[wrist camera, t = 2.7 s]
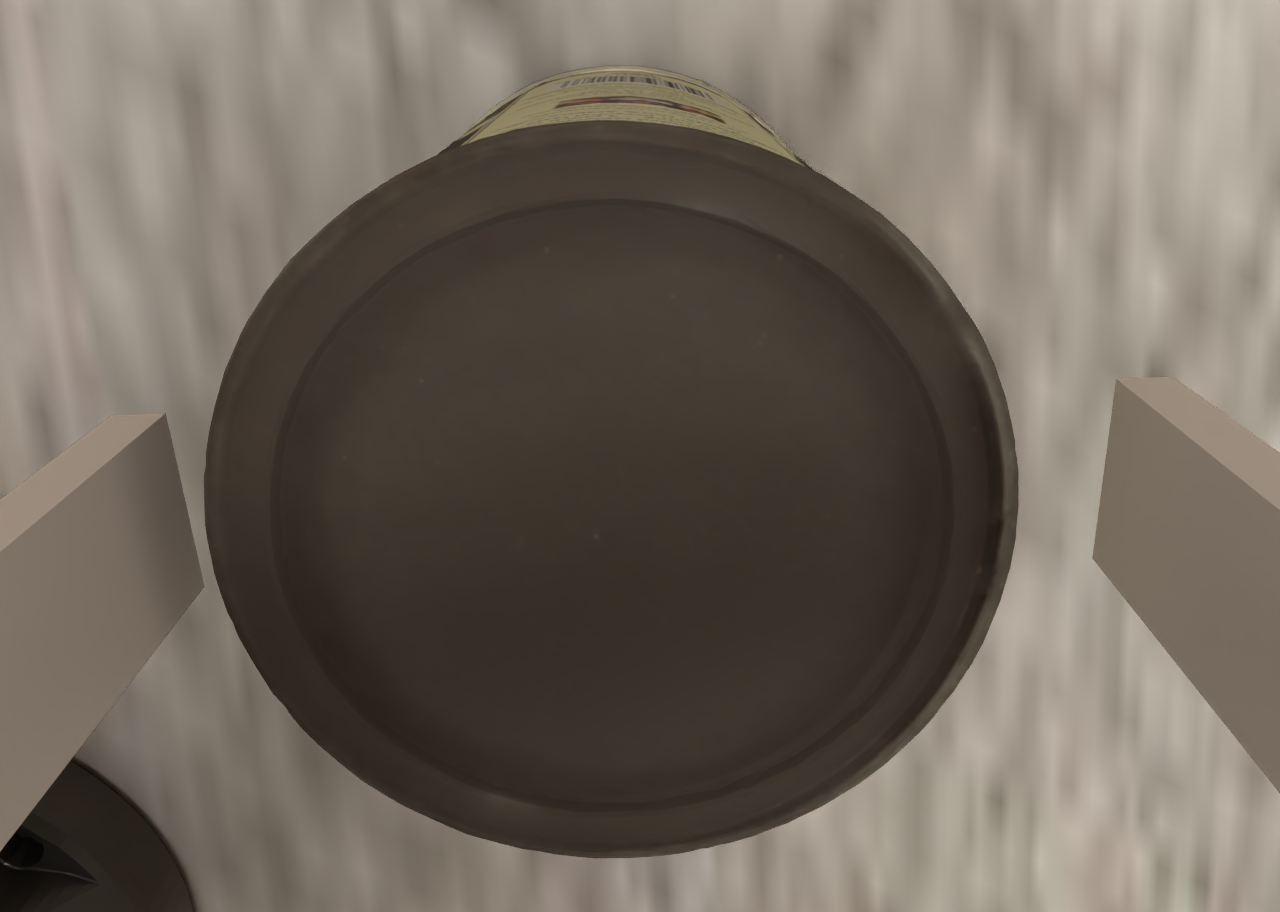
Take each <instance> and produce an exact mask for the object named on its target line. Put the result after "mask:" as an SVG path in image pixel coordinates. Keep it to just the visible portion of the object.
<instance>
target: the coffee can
mask: <svg viewBox="0 0 1280 912" xmlns="http://www.w3.org/2000/svg"><path fill="white" fill-rule="evenodd" d="M204 500H205V526H206V533H207V539H208V544H209V549H210V554H211V559H212V564H213V569H214V573H215V576H216V579H217V583H218V586H219V589H220V592H221V595H222V598H223V601H224V604H225V606H226V609H227V612H228V614H229V616H230V618H231V620H232V621H233V623H234V626H235V629H236V632H237V634H238V636H239V638H240V640H241V642H242V643H243V645H244V647H245V649H246V650H247V652H248V654H249V656H250V657H251V659H252V661H253V663H254V664H255V666H256V667H257V669H258V670H259V672H260V674H261V675H262V677H263V678H264V680H265V682H266V683H267V685H268V686H269V688H270V690H271V691H272V693H273V694H274V695H275V696H276V697H277V698H278V699H279V700H280V701H281V702H282V703H283V704H284V706H285V707H286V708H287V710H288V711H289V713H290V714H291V715H292V717H293V718H294V719H295V720H296V722H297V723H298V724H299V726H300V727H301V728H302V729H303V730H304V731H305V732H306V733H307V734H308V735H309V736H310V737H311V738H312V739H313V740H314V741H315V742H316V743H317V744H318V745H320V746H321V747H322V748H323V749H324V750H325V751H327V752H328V753H329V754H330V755H331V756H332V757H334V758H335V759H336V760H337V761H338V762H339V763H341V764H342V765H343V766H344V767H346V768H347V769H348V770H350V771H351V772H352V773H353V774H355V775H356V776H357V777H358V778H360V779H361V780H362V781H364V782H365V783H367V784H368V785H370V786H372V787H373V788H375V789H376V790H378V791H380V792H381V793H383V794H384V795H386V796H388V797H389V798H391V799H393V800H395V801H396V802H398V803H400V804H402V805H404V806H406V807H408V808H410V809H412V810H414V811H416V812H418V813H420V814H422V815H425V816H427V817H429V818H431V819H433V820H436V821H438V822H440V823H442V824H445V825H447V826H449V827H451V828H454V829H456V830H459V831H461V832H463V833H466V834H469V835H472V836H476V837H479V838H483V839H487V840H490V841H494V842H498V843H502V844H505V845H509V846H513V847H518V848H522V849H528V850H536V851H542V852H547V853H552V854H559V855H568V856H577V857H588V858H635V857H649V856H661V855H670V854H679V853H684V852H689V851H694V850H697V849H701V848H709V847H713V846H716V845H720V844H726V843H730V842H734V841H737V840H741V839H744V838H748V837H751V836H754V835H757V834H759V833H762V832H764V831H767V830H769V829H772V828H775V827H777V826H780V825H783V824H786V823H788V822H790V821H792V820H794V819H796V818H798V817H800V816H802V815H804V814H807V813H809V812H811V811H813V810H815V809H817V808H819V807H821V806H823V805H825V804H826V803H828V802H830V801H831V800H833V799H835V798H836V797H838V796H840V795H841V794H843V793H845V792H846V791H848V790H849V789H851V788H853V787H854V786H856V785H857V784H859V783H860V782H862V781H863V780H864V779H866V778H867V777H868V776H870V775H871V774H872V773H874V772H875V771H876V770H878V769H879V768H881V767H882V766H883V765H884V764H886V763H887V762H888V761H889V760H890V759H891V758H892V757H893V756H895V755H896V754H897V753H898V752H899V751H900V750H901V749H902V748H904V747H905V746H906V745H907V744H908V743H909V742H910V741H911V740H912V739H913V738H914V737H915V736H916V735H917V734H918V733H919V732H920V731H921V730H922V729H923V728H924V727H925V726H926V725H927V724H928V722H929V721H930V720H931V719H932V718H933V717H934V715H935V714H936V713H937V711H938V710H939V709H940V707H941V706H942V705H943V703H944V702H945V701H946V700H947V699H948V697H949V696H950V695H951V694H952V693H953V691H954V690H955V688H956V687H957V685H958V684H959V682H960V680H961V679H962V677H963V676H964V674H965V673H966V671H967V670H968V668H969V667H970V665H971V664H972V662H973V660H974V658H975V657H976V655H977V653H978V651H979V649H980V647H981V645H982V644H983V642H984V639H985V637H986V634H987V632H988V630H989V627H990V625H991V622H992V620H993V617H994V615H995V613H996V610H997V608H998V605H999V603H1000V600H1001V596H1002V593H1003V590H1004V586H1005V583H1006V580H1007V576H1008V573H1009V570H1010V565H1011V560H1012V555H1013V549H1014V544H1015V539H1016V525H1017V514H1018V464H1017V457H1016V452H1015V440H1014V434H1013V429H1012V424H1011V419H1010V415H1009V410H1008V406H1007V401H1006V397H1005V394H1004V391H1003V388H1002V386H1001V383H1000V380H999V377H998V374H997V371H996V368H995V365H994V363H993V360H992V358H991V356H990V354H989V351H988V349H987V347H986V345H985V342H984V340H983V338H982V336H981V334H980V332H979V331H978V329H977V327H976V325H975V324H974V322H973V321H972V319H971V318H970V316H969V315H968V313H967V312H966V310H965V309H964V307H963V306H962V304H961V303H960V302H959V300H958V299H957V297H956V296H955V294H954V293H953V291H952V289H951V288H950V286H949V285H948V284H947V283H946V281H945V280H944V279H943V277H942V276H941V275H940V274H939V272H938V271H937V270H936V269H935V267H934V266H933V265H932V263H931V262H930V261H929V260H928V259H927V258H926V257H925V256H924V255H923V254H922V253H921V252H920V250H919V249H918V248H917V247H916V246H915V245H914V244H913V243H912V242H911V241H910V240H909V239H908V238H907V237H906V236H905V235H904V234H903V233H902V232H901V231H900V230H899V229H897V228H896V227H895V226H894V225H893V224H892V223H891V222H890V221H888V220H887V219H886V218H885V217H884V216H883V215H882V214H880V213H879V212H877V211H876V210H874V209H873V208H872V207H870V206H869V205H867V204H866V203H865V202H863V201H862V200H860V199H859V198H857V197H856V196H854V195H853V194H851V193H850V192H848V191H847V190H845V189H844V188H842V187H841V186H839V185H838V184H836V183H835V182H833V181H831V180H830V179H828V178H827V177H825V176H823V175H821V174H819V173H817V172H815V171H814V170H813V169H812V168H810V167H809V166H808V165H807V164H806V163H805V162H804V161H802V160H801V159H800V158H798V157H797V156H796V155H795V154H794V153H793V152H792V151H791V150H790V149H789V148H787V147H786V146H785V145H784V143H783V142H782V141H781V139H780V138H779V137H778V136H777V135H776V134H775V133H774V132H773V131H772V129H771V128H770V127H768V126H767V125H766V124H765V123H764V122H763V121H762V120H761V119H760V118H759V117H758V116H757V115H756V114H755V113H753V112H752V111H750V110H749V109H748V108H746V107H745V106H744V105H742V104H741V103H740V102H738V101H737V100H735V99H734V98H732V97H731V96H729V95H728V94H726V93H724V92H723V91H721V90H719V89H717V88H714V87H712V86H710V85H709V84H707V83H705V82H704V81H701V80H697V79H693V78H690V77H687V76H684V75H682V74H678V73H674V72H670V71H665V70H661V69H654V68H648V67H641V66H601V67H592V68H586V69H580V70H574V71H569V72H565V73H562V74H558V75H555V76H552V77H549V78H547V79H545V80H542V81H538V82H534V83H532V84H530V85H528V86H527V87H525V88H523V89H521V90H519V91H518V92H516V93H514V94H513V95H511V96H510V97H508V98H506V99H505V100H503V101H502V102H500V103H499V104H497V105H496V106H495V107H493V108H492V109H491V110H489V111H488V112H487V113H486V114H484V115H483V116H482V117H481V118H480V119H479V120H478V121H477V122H476V123H475V124H474V125H473V126H472V127H471V128H470V129H469V130H468V131H467V132H466V133H465V134H464V135H463V136H462V137H461V138H459V139H458V140H457V141H455V142H453V143H452V144H451V145H450V146H449V147H447V148H446V149H444V150H443V151H441V152H440V153H439V154H438V155H436V156H434V157H432V158H430V159H428V160H426V161H424V162H422V163H420V164H418V165H416V166H414V167H412V168H410V169H408V170H406V171H404V172H403V173H401V174H399V175H397V176H395V177H394V178H392V179H390V180H389V181H387V182H385V183H384V184H382V185H381V186H379V187H378V188H376V189H374V190H373V191H371V192H370V193H368V194H367V195H365V196H364V197H362V198H361V199H359V200H358V201H356V202H355V203H353V204H352V205H351V206H349V207H348V208H347V209H346V210H344V211H343V212H342V213H341V214H340V215H338V216H337V217H336V218H335V219H334V220H332V221H331V222H330V223H329V224H327V225H326V226H325V227H324V228H323V229H322V230H321V231H320V232H319V233H318V234H317V235H316V236H314V237H313V238H312V239H311V240H310V241H309V242H308V243H307V244H306V245H305V246H304V247H303V248H302V249H301V250H300V251H299V252H298V253H297V254H296V255H295V256H294V257H293V258H292V259H291V260H290V261H289V262H288V264H287V265H286V266H285V268H284V269H283V270H282V272H281V273H280V274H279V276H278V277H277V278H276V280H275V281H274V282H273V284H272V285H271V286H270V287H269V289H268V290H267V291H266V293H265V295H264V296H263V298H262V299H261V301H260V303H259V304H258V306H257V308H256V309H255V311H254V312H253V314H252V315H251V317H250V318H249V319H248V321H247V323H246V325H245V327H244V329H243V331H242V333H241V335H240V337H239V340H238V342H237V344H236V347H235V349H234V351H233V353H232V356H231V358H230V360H229V362H228V365H227V367H226V369H225V372H224V376H223V379H222V383H221V386H220V390H219V393H218V397H217V400H216V404H215V408H214V412H213V417H212V421H211V426H210V432H209V437H208V444H207V451H206V468H205V474H204Z"/></svg>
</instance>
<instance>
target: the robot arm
mask: <svg viewBox="0 0 1280 912" xmlns="http://www.w3.org/2000/svg"><path fill="white" fill-rule="evenodd" d="M1093 559H1094V561H1095V562H1096V563H1097V564H1098V566H1099V567H1100V568H1101V569H1102V571H1103V572H1104V573H1105V574H1106V576H1107V577H1108V578H1109V579H1110V581H1111V582H1112V583H1113V584H1114V586H1115V587H1116V588H1117V590H1118V591H1119V592H1120V593H1121V595H1122V596H1123V597H1124V598H1125V600H1126V601H1127V602H1128V603H1129V605H1130V606H1131V607H1132V608H1133V610H1134V611H1135V612H1136V613H1137V615H1138V616H1139V617H1140V618H1141V620H1142V621H1143V622H1144V623H1145V625H1146V626H1147V627H1148V628H1149V630H1150V631H1151V632H1152V633H1153V635H1154V636H1155V637H1156V638H1157V640H1158V641H1159V642H1160V643H1161V645H1162V646H1163V647H1164V648H1165V650H1166V651H1167V652H1168V653H1169V655H1170V656H1171V657H1172V658H1173V660H1174V661H1175V662H1176V664H1177V665H1178V666H1179V667H1180V669H1181V670H1182V671H1183V672H1184V674H1185V675H1186V676H1187V677H1188V679H1189V680H1190V681H1191V682H1192V684H1193V685H1194V686H1195V687H1196V689H1197V690H1198V691H1199V692H1200V694H1201V695H1202V696H1203V697H1204V699H1205V700H1206V701H1207V702H1208V704H1209V705H1210V706H1211V707H1212V709H1213V710H1214V711H1215V712H1216V714H1217V715H1218V716H1219V717H1220V719H1221V720H1222V721H1223V722H1224V724H1225V725H1226V726H1227V727H1228V729H1229V730H1230V731H1231V732H1232V734H1233V735H1234V736H1235V738H1236V739H1237V740H1238V741H1239V743H1240V744H1241V745H1242V746H1243V748H1244V749H1245V750H1246V751H1247V753H1248V754H1249V755H1250V756H1251V758H1252V759H1253V760H1254V761H1255V763H1256V764H1257V765H1258V766H1259V768H1260V769H1261V770H1262V771H1263V773H1264V774H1265V775H1266V776H1267V778H1268V779H1269V780H1270V781H1271V783H1272V784H1273V785H1274V786H1275V788H1276V789H1277V790H1278V791H1279V793H1280V453H1279V452H1278V451H1277V450H1275V449H1274V448H1272V447H1271V446H1270V445H1268V444H1267V443H1265V442H1264V441H1263V440H1261V439H1260V438H1258V437H1257V436H1256V435H1254V434H1253V433H1251V432H1250V431H1249V430H1247V429H1246V428H1244V427H1243V426H1242V425H1240V424H1239V423H1237V422H1236V421H1235V420H1233V419H1232V418H1230V417H1229V416H1228V415H1226V414H1225V413H1223V412H1222V411H1220V410H1219V409H1218V408H1216V407H1215V406H1213V405H1212V404H1211V403H1209V402H1208V401H1206V400H1205V399H1204V398H1202V397H1201V396H1199V395H1198V394H1197V393H1195V392H1194V391H1192V390H1191V389H1190V388H1188V387H1187V386H1185V385H1184V384H1183V383H1181V382H1180V381H1178V380H1177V379H1176V378H1174V377H1157V378H1129V379H1116V386H1115V394H1114V401H1113V409H1112V416H1111V424H1110V431H1109V439H1108V446H1107V454H1106V461H1105V469H1104V476H1103V484H1102V491H1101V498H1100V506H1099V513H1098V521H1097V528H1096V536H1095V543H1094V551H1093ZM203 588H204V583H203V578H202V574H201V569H200V565H199V561H198V556H197V552H196V547H195V543H194V538H193V534H192V529H191V525H190V520H189V516H188V511H187V507H186V502H185V498H184V494H183V489H182V485H181V480H180V476H179V471H178V467H177V462H176V458H175V453H174V449H173V444H172V440H171V436H170V431H169V427H168V422H167V418H166V413H159V414H132V415H111V416H110V417H108V418H107V419H106V420H104V421H103V422H102V423H100V424H99V425H98V426H96V427H95V428H94V429H93V430H91V431H90V432H89V433H87V434H86V435H85V436H83V437H82V438H81V439H79V440H78V441H77V442H75V443H74V444H73V445H71V446H70V447H69V448H67V449H66V450H65V451H63V452H62V453H61V454H60V455H58V456H57V457H56V458H54V459H53V460H52V461H50V462H49V463H48V464H46V465H45V466H44V467H42V468H41V469H40V470H38V471H37V472H36V473H34V474H33V475H32V476H31V477H29V478H28V479H27V480H25V481H24V482H23V483H21V484H20V485H19V486H17V487H16V488H15V489H13V490H12V491H11V492H9V493H8V494H7V495H5V496H4V497H3V498H1V499H0V912H193V909H192V904H191V901H190V897H189V894H188V891H187V888H186V886H185V883H184V881H183V878H182V876H181V874H180V872H179V870H178V868H177V866H176V864H175V862H174V860H173V859H172V857H171V856H170V854H169V852H168V851H167V849H166V847H165V846H164V845H163V843H162V842H161V841H160V839H159V838H158V836H157V835H156V834H155V833H154V831H153V830H152V829H151V828H150V826H149V825H148V824H147V823H146V822H145V821H144V820H143V818H142V817H141V816H140V815H139V814H138V813H137V812H136V811H135V810H134V809H133V808H132V807H131V806H130V805H129V804H128V803H126V802H125V801H124V800H123V799H122V798H121V797H120V796H119V795H118V794H116V793H115V792H114V791H113V790H111V789H110V788H109V787H108V786H107V785H105V784H104V783H103V782H101V781H100V780H98V779H97V778H96V777H94V776H93V775H91V774H90V773H89V772H87V771H85V770H84V769H82V768H81V767H79V766H78V765H76V764H74V763H73V762H71V761H70V760H71V759H72V758H73V756H74V755H75V754H76V753H77V751H78V750H79V749H80V747H81V746H82V745H83V743H84V742H85V741H86V740H87V738H88V737H89V736H90V734H91V733H92V732H93V730H94V729H95V728H96V727H97V725H98V724H99V723H100V721H101V720H102V719H103V717H104V716H105V715H106V714H107V712H108V711H109V710H110V708H111V707H112V706H113V704H114V703H115V702H116V701H117V699H118V698H119V697H120V695H121V694H122V693H123V691H124V690H125V689H126V688H127V686H128V685H129V684H130V682H131V681H132V680H133V679H134V677H135V676H136V675H137V673H138V672H139V671H140V669H141V668H142V667H143V666H144V664H145V663H146V662H147V660H148V659H149V658H150V656H151V655H152V654H153V653H154V651H155V650H156V649H157V647H158V646H159V645H160V643H161V642H162V641H163V640H164V638H165V637H166V636H167V634H168V633H169V632H170V630H171V629H172V628H173V627H174V625H175V624H176V623H177V621H178V620H179V619H180V617H181V616H182V615H183V614H184V612H185V611H186V610H187V608H188V607H189V606H190V604H191V603H192V602H193V601H194V599H195V598H196V597H197V595H198V594H199V593H200V592H201V590H202V589H203Z"/></svg>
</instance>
